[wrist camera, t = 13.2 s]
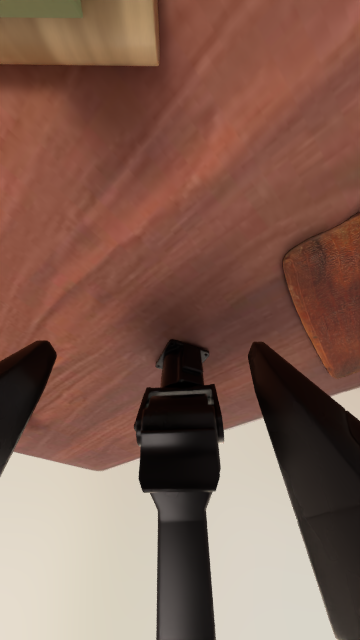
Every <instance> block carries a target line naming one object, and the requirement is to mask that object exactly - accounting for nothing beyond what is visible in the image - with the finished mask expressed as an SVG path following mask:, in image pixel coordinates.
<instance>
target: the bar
mask: <svg viewBox="0 0 360 640" xmlns="http://www.w3.org/2000/svg"><path fill="white" fill-rule="evenodd" d="M0 17H20V18H83V12H82V7H81V1H80V0H0Z"/></svg>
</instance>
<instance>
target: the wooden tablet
mask: <svg viewBox="0 0 360 640" xmlns="http://www.w3.org/2000/svg"><path fill="white" fill-rule="evenodd" d="M283 268H284V272H285V277H286V281H287V285H288V288H289V291H290V294H291V297H292V299H293V303H294V305H295V307H296V310H297V312H298V315H299V316H300V319H301V321H302V323H303V325H304V328H305V330H306V332H307V334H308V335H309V337H310V339H311V341H312V343H313V345H314V347H315V349H316V351H317V353H318V355H319V356H320V358H321V360H322V362H323V364H324V366H325V367H327V368H326V369H327V370H328V372H329V373H330V375H331V376H332V377H334V378H336V379H338V378H342V377H345V376H348V375H351V374H353V373H357V372H360V212H359V213H358V214H356V215H354V216H352V217H351V218H350V219H349V220H347V221H345V222H344V223H342V224H340V225H339V226H337V227H335V228H333V229H331V230H329V231H326V232H323V233H321V234H318V235H316V236H313V237H311V238H310V239H308V240H306V241H304V242H303V243H301V244H299V245H297V246H296V247H295V248H293V249H292V250H290V251H289V252H288V253H287V255H286V256H285V258H284V260H283Z"/></svg>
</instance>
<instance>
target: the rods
mask: <svg viewBox="0 0 360 640" xmlns="http://www.w3.org/2000/svg"><path fill="white" fill-rule="evenodd" d="M80 1H81V7H82V12H83V18H20V17H0V64H26V65H103V66H158V65H159V56H160V51H159V19H158V0H80Z"/></svg>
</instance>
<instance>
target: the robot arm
mask: <svg viewBox="0 0 360 640" xmlns="http://www.w3.org/2000/svg"><path fill="white" fill-rule="evenodd" d="M208 356H209V351H207V350H204V349H201V348H198V347H195V346H192V345H188V344H185V343H182V342H179V341H176V340H173V339H172V340H169V342H168V343H167V345H166V347H165V349H164V350H163V352H162V354H161V355H160V357H159V359H158V361H157V362H156V368H159V369H162V376H161V387H160V388H151V387H148V388H146V391H145V393H144V396H143V399H142V402H141V405H140V408H139V411H138V415H137V418H136V422H135V424H134V429H135V431H136V438H137V443H138V445H139V446H141V450H140V467H139V481H140V485H141V488H142V491H143V492H144V493H150V494H151V496H152V498H153V500H154V503H155V505H156V507H157V509H158V561H157V562H158V564H157V566H158V567H157V568H158V569H157V638H156V639H157V640H216V637H215V623H214V611H213V597H212V585H211V572H210V558H209V546H208V532H207V519H206V508H207V505H208V503H209V500H210V497H211V494H212V492H213V491H216V488H217V485H218V481H219V477H220V474H219V473H220V458H219V448H218V443H224V430H223V422H222V415H221V410H220V406H219V401H218V397H217V393H216V388H215V384H210V385H204V379H203V366H202V363H203V362H204V361H205V360H206V359H207V357H208ZM56 357H57V354H56V352H55V350H54V348H53V347H52V345H51V344H50V342H49V341H35V342H34V343H32V344H30V345H28V346H27V347H25V348H23V349H21V350H20V351H18V352H16V353H14V354H12V355H11V356H9V357H7V358H5V359H4V360H2V361H0V476H1V474H2V472H3V470H4V468H5V467H6V464H7V462H8V460H9V458H10V456H11V455H12V453H13V451H14V449H15V447H16V445H17V443H18V441H19V439H20V437H21V435H22V433H23V431H24V429H25V427H26V425H27V423H28V421H29V419H30V417H31V415H32V413H33V411H34V409H35V407H36V405H37V403H38V401H39V399H40V397H41V395H42V393H43V391H44V389H45V386H46V384H47V381H48V378H49V376H50V373H51V371H52V368H53V365H54V363H55V360H56ZM248 360H249V365H250V370H251V375H252V380H253V385H254V389H255V393H256V396H257V399H258V402H259V405H260V409H261V412H262V415H263V418H264V421H265V423H266V427H267V430H268V433H269V436H270V439H271V442H272V445H273V448H274V451H275V454H276V458H277V460H278V464H279V467H280V470H281V473H282V476H283V479H284V482H285V485H286V488H287V491H288V494H289V498H290V500H291V504H292V507H293V510H294V513H295V516H296V519H297V522H298V526H299V528H300V532H301V535H302V538H303V541H304V544H305V547H306V550H307V553H308V556H309V559H310V562H311V565H312V569H313V572H314V575H315V577H316V581H317V584H318V587H319V590H320V593H321V596H322V599H323V602H324V605H325V608H326V612H327V615H328V618H329V621H330V624H331V627H332V630H333V632H334V635H335V638H336V639H337V640H360V421H359V420H358V419H357V418H356V417H354V416H353V415H352V414H351V413H349V412H348V411H345V409H344V408H343V407H342V406H341V405H340V404H338V403H337V402H336V401H335V400H333V399H332V398H331V397H330V396H329V395H327V394H326V393H325V392H324V391H322V390H321V389H320V388H319V387H318V386H316V385H315V384H314V383H313V382H311V381H310V380H309V379H308V378H307V377H305V376H304V375H303V374H302V373H301V372H299V371H298V370H297V369H296V368H294V367H293V366H292V365H291V364H290V363H288V362H287V361H286V360H285V359H283V358H282V357H281V356H280V355H279V354H277V353H276V352H275V351H274V350H272V349H271V348H270V347H269V346H268V345H266V344H265V343H264V342H253V343H252V345H251V348H250V351H249V354H248Z"/></svg>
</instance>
